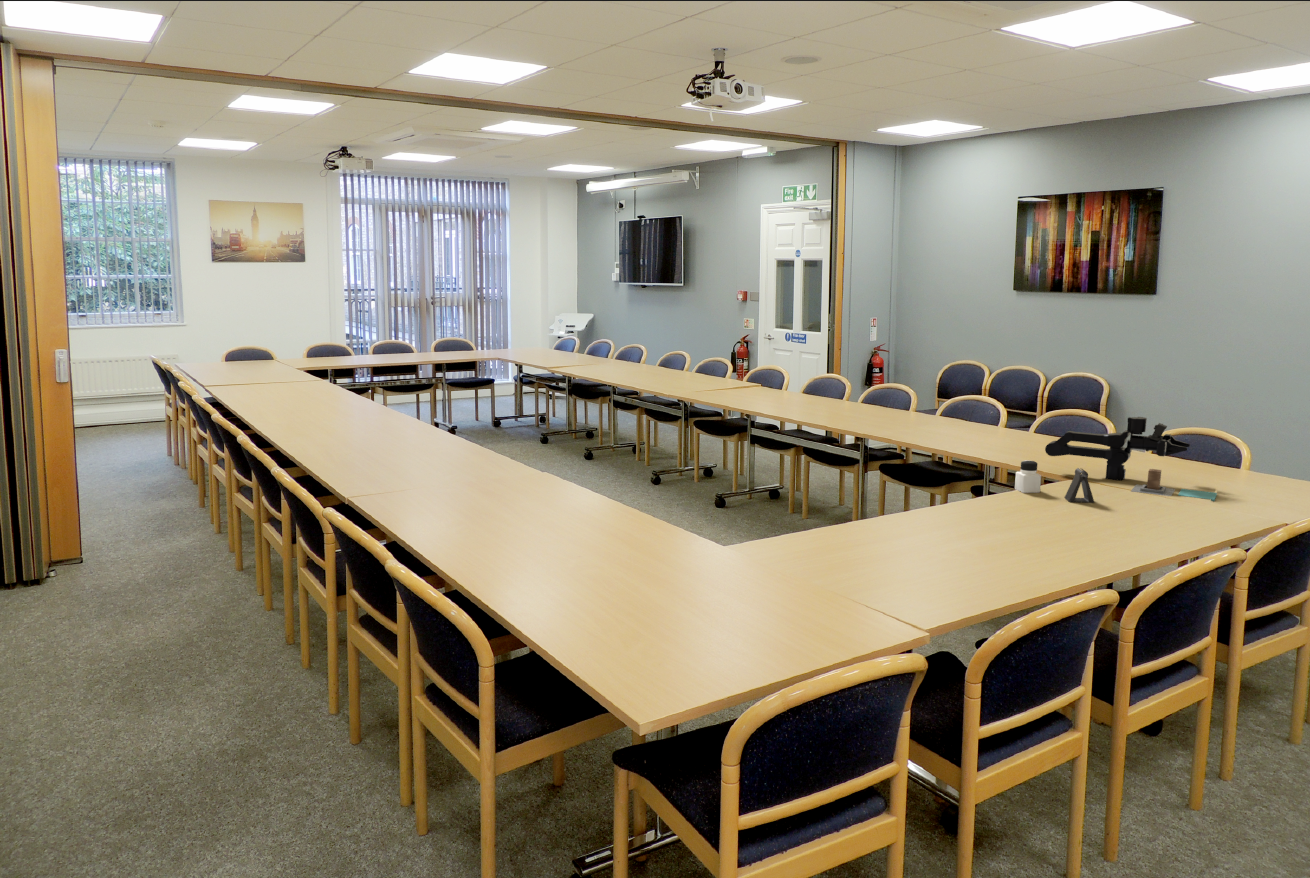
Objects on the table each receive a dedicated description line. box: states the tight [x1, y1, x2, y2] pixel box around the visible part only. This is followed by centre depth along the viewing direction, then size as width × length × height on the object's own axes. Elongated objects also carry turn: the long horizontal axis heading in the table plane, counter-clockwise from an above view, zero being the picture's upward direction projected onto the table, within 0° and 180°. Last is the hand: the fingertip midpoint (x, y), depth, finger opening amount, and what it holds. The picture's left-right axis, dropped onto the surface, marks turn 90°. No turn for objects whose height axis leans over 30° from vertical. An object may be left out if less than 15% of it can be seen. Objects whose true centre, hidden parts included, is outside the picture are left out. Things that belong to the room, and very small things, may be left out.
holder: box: [1130, 484, 1176, 497], centre depth 359 cm, size 14×14×2 cm
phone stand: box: [1064, 467, 1095, 504], centre depth 345 cm, size 9×6×12 cm, turn 81°
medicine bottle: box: [1014, 459, 1042, 494], centre depth 360 cm, size 7×7×12 cm
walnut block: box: [1146, 468, 1162, 490], centre depth 358 cm, size 4×4×8 cm
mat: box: [1177, 488, 1218, 502], centre depth 352 cm, size 12×12×1 cm
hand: (1188, 447), depth 362 cm, fingers open, 9 cm apart
